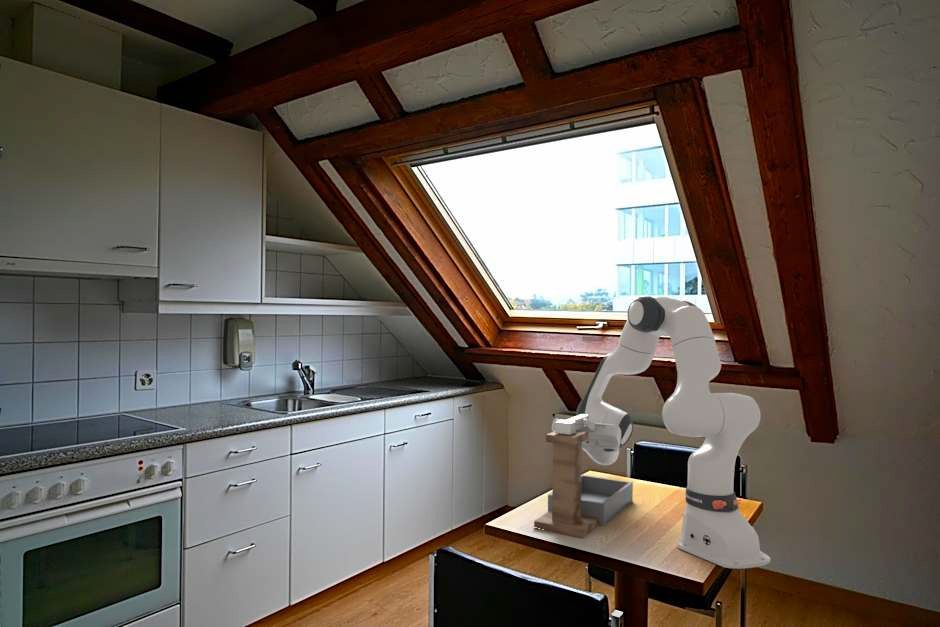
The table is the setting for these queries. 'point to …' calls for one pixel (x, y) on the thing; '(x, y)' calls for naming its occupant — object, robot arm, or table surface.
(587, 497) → the parts tray
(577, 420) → the white bar
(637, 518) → the table surface
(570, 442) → the stand
